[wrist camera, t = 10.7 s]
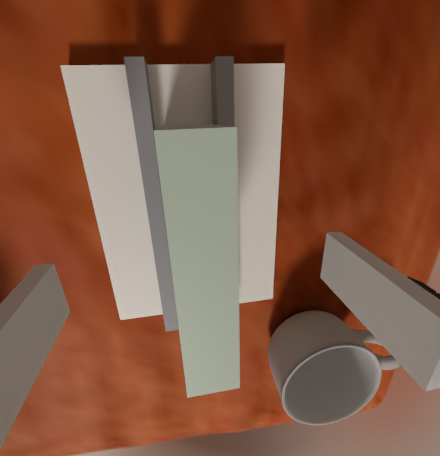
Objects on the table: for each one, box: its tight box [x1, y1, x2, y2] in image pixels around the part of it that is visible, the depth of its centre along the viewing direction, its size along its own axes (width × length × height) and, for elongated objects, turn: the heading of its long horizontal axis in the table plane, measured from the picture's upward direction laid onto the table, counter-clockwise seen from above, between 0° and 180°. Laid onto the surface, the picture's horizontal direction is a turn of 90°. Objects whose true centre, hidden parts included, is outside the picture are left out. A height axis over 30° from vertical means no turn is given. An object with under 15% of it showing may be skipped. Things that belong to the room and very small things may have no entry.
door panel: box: [154, 124, 240, 398], centre depth 17 cm, size 14×3×12 cm, turn 2°
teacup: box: [268, 311, 400, 425], centre depth 30 cm, size 14×11×8 cm
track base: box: [60, 56, 285, 331], centre depth 22 cm, size 22×16×4 cm
